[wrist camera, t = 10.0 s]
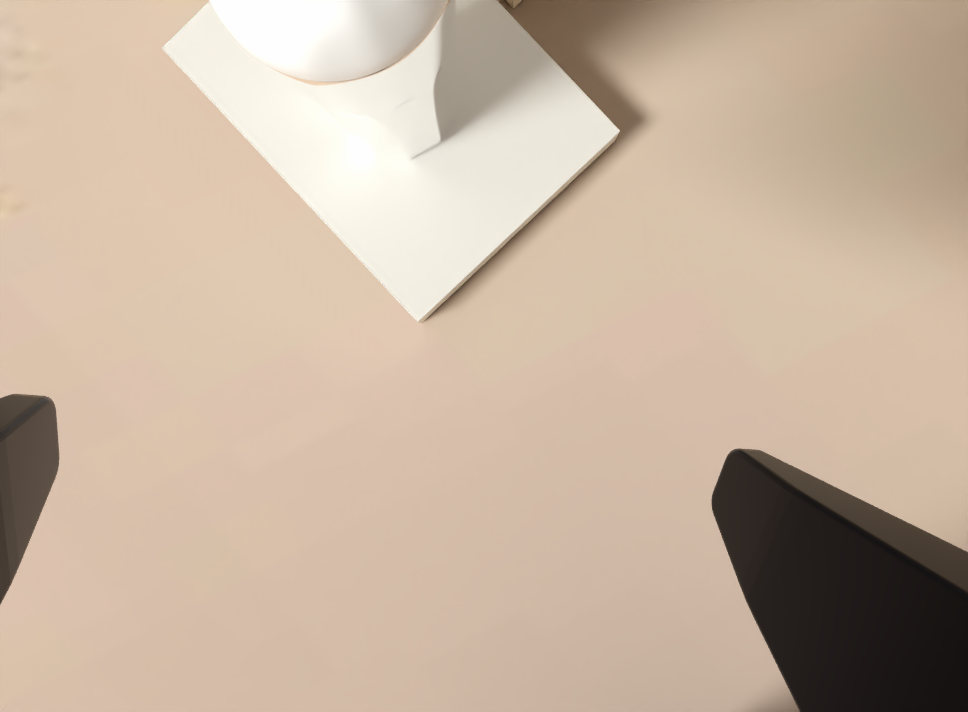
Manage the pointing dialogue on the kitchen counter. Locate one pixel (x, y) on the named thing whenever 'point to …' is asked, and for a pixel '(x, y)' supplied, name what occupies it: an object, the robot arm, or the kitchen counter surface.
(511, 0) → the holder
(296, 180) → the pad
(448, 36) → the milkshake
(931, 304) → the kitchen counter surface
